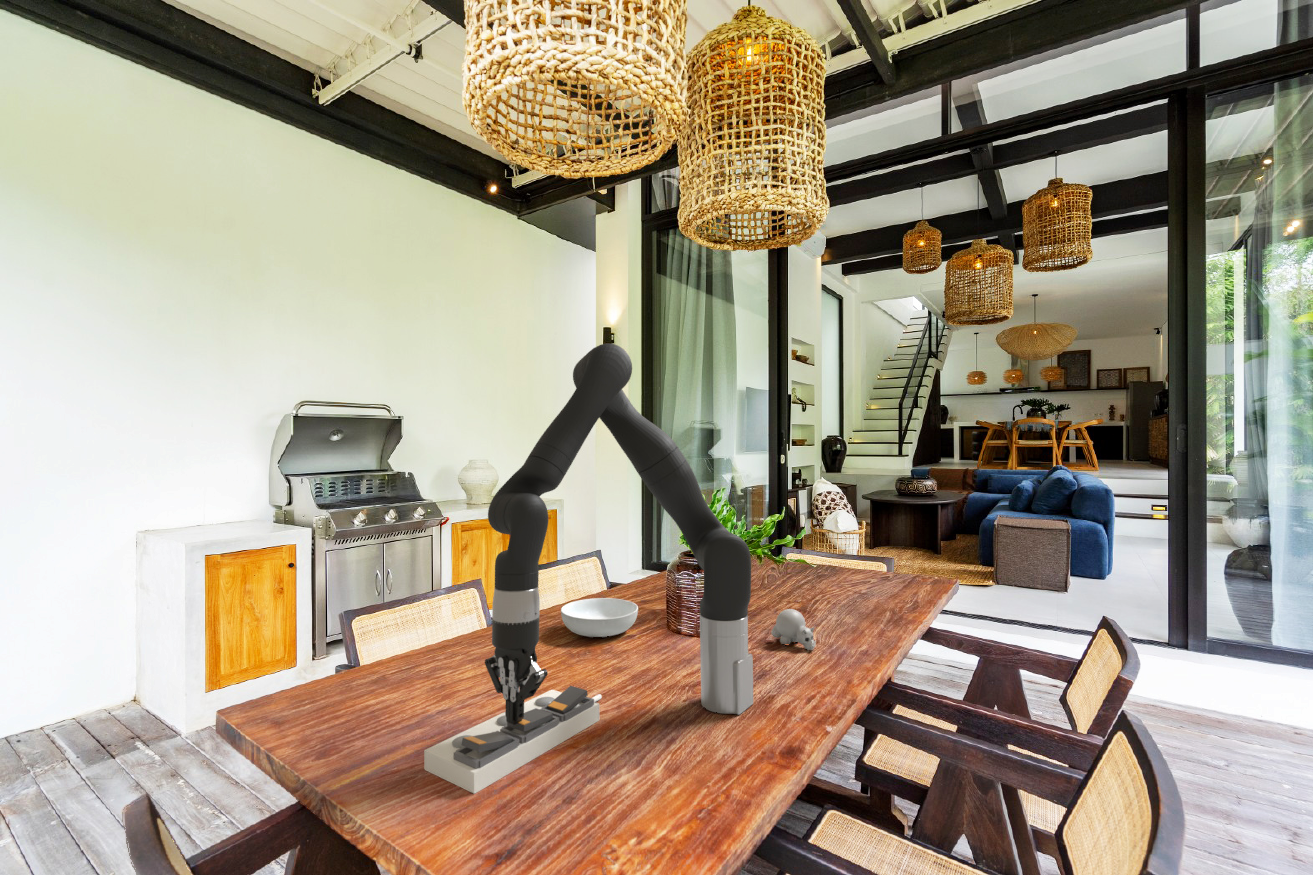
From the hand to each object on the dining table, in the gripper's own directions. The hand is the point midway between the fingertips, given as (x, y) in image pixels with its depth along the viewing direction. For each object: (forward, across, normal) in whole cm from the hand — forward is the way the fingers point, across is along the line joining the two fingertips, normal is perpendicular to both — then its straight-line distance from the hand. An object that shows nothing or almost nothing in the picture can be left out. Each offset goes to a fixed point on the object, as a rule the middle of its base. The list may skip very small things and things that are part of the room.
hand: (514, 721), depth 98 cm
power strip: (+5, +3, -7) cm, 9 cm away
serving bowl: (+5, +31, -58) cm, 66 cm away
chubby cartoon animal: (+4, -18, -76) cm, 78 cm away
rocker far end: (+1, 0, +6) cm, 6 cm away
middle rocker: (+1, 0, -3) cm, 3 cm away
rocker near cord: (0, 0, -12) cm, 12 cm away
